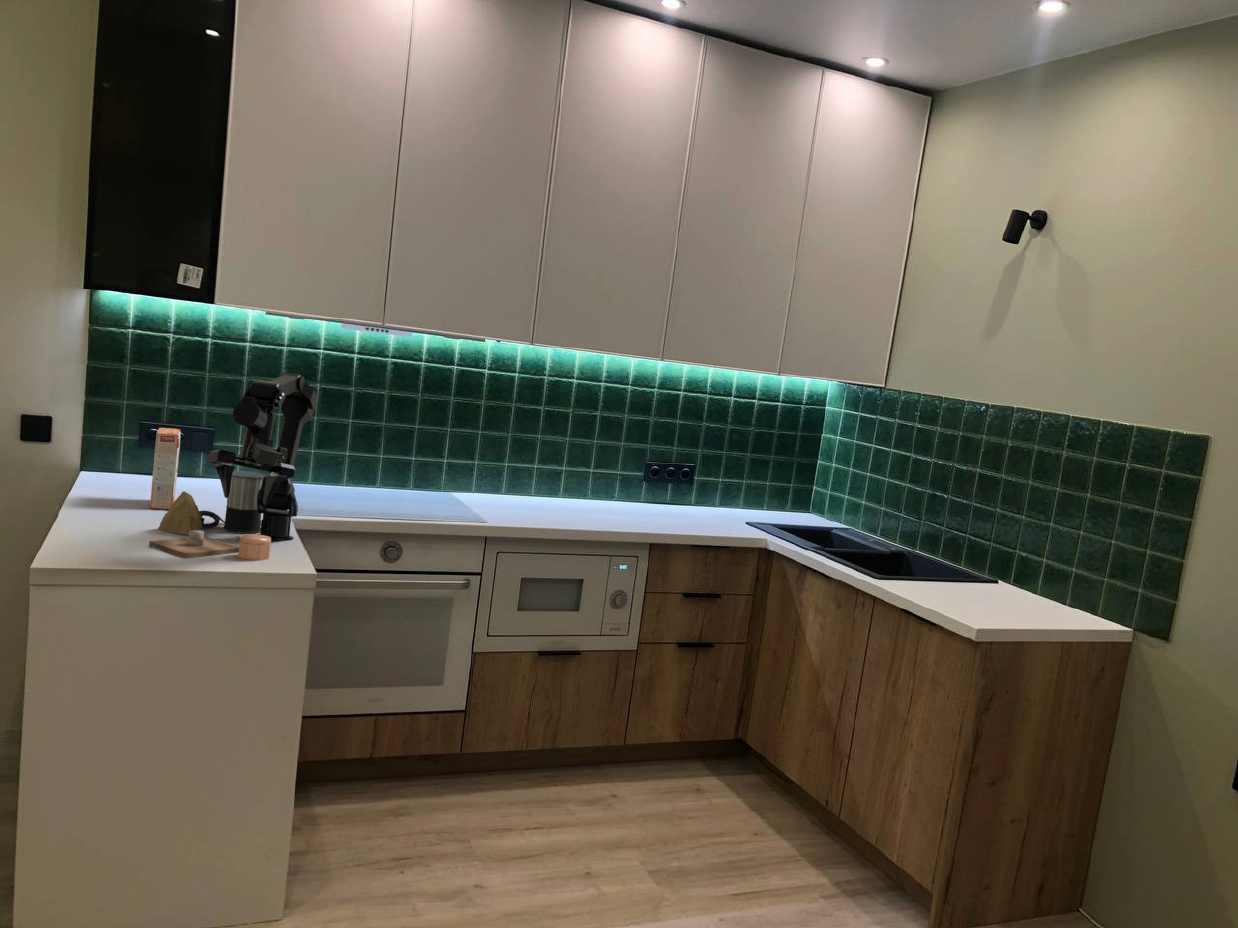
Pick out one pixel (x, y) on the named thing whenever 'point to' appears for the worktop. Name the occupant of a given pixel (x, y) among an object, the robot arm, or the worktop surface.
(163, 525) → the rock
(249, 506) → the milk frother
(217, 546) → the wooden peg board
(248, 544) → the cap
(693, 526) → the worktop surface
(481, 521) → the worktop surface
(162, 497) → the cracker box
